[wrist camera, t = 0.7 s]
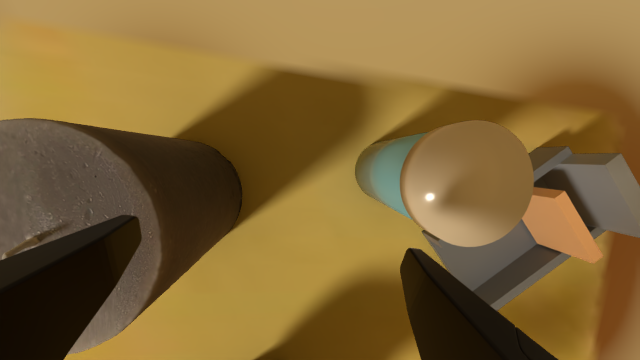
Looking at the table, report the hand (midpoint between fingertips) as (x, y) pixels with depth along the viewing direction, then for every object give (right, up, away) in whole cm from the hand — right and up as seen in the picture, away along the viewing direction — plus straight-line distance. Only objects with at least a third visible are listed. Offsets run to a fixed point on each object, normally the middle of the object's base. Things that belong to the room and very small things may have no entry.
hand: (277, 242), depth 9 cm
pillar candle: (-11, +1, +15) cm, 18 cm away
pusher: (+21, -1, +17) cm, 27 cm away
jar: (+7, +3, +16) cm, 18 cm away
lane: (+19, -2, +17) cm, 26 cm away
